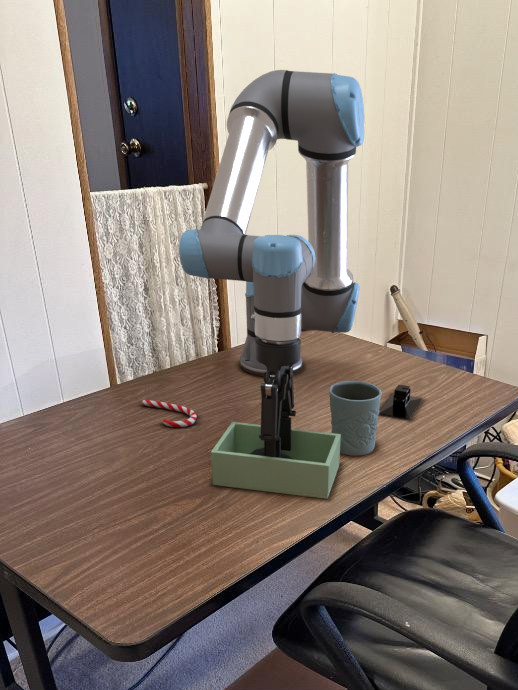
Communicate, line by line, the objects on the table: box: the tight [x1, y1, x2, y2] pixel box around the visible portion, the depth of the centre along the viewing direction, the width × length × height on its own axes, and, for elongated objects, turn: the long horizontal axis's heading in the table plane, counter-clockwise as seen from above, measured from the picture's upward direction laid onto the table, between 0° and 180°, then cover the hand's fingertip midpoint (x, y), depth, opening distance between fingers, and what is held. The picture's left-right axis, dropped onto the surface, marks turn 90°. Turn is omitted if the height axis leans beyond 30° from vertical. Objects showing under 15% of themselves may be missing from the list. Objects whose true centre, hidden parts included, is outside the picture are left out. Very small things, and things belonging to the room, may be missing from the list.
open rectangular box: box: [210, 421, 341, 500], centre depth 125 cm, size 13×21×7 cm, turn 83°
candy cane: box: [141, 399, 198, 428], centre depth 144 cm, size 8×1×15 cm
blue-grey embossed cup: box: [328, 380, 383, 457], centre depth 136 cm, size 10×10×12 cm
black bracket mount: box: [378, 384, 423, 421], centre depth 156 cm, size 12×7×5 cm, turn 164°
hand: (278, 459), depth 125 cm, fingers open, 8 cm apart
